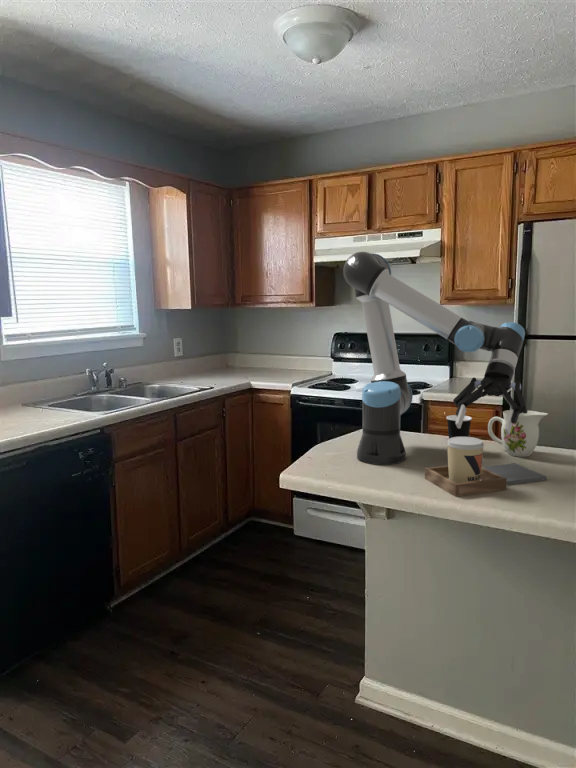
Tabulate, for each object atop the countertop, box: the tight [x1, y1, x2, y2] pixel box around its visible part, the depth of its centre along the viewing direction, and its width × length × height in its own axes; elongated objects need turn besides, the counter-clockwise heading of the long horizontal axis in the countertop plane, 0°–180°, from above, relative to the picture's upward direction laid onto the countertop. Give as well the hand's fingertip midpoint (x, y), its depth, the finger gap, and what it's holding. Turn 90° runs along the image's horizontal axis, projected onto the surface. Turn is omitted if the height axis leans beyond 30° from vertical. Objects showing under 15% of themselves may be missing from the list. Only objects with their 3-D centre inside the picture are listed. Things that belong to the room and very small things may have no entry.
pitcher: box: [487, 409, 549, 457], centre depth 176 cm, size 11×18×14 cm, turn 50°
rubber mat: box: [482, 462, 547, 486], centre depth 155 cm, size 13×13×1 cm
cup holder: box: [424, 465, 507, 498], centre depth 149 cm, size 15×15×3 cm
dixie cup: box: [445, 414, 473, 439], centre depth 180 cm, size 8×8×11 cm
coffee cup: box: [446, 436, 485, 483], centre depth 148 cm, size 9×9×12 cm
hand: (481, 429), depth 154 cm, fingers open, 13 cm apart
